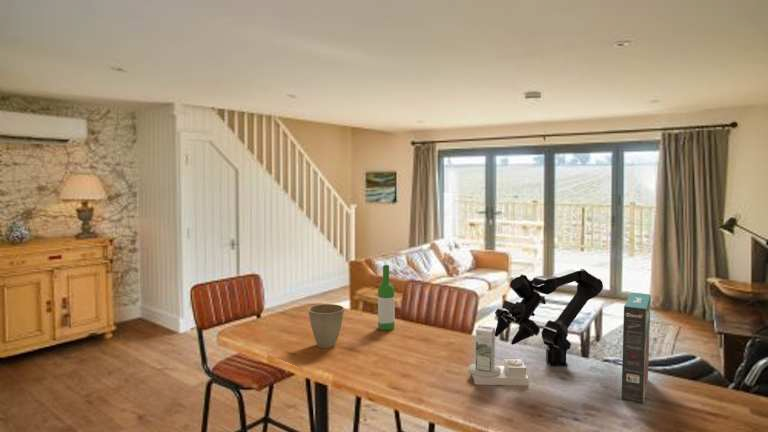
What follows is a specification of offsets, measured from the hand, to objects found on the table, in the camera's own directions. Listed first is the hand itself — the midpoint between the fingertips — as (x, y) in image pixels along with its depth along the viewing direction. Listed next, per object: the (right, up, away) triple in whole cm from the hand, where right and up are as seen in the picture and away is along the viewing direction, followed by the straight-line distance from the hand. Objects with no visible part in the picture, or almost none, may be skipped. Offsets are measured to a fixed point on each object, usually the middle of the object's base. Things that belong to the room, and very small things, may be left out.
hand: (503, 340), depth 174 cm
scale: (-2, -13, -3) cm, 13 cm away
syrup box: (-7, -9, -3) cm, 12 cm away
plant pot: (-67, -11, +33) cm, 75 cm away
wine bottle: (-41, -9, +56) cm, 70 cm away
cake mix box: (+41, -13, -12) cm, 45 cm away
